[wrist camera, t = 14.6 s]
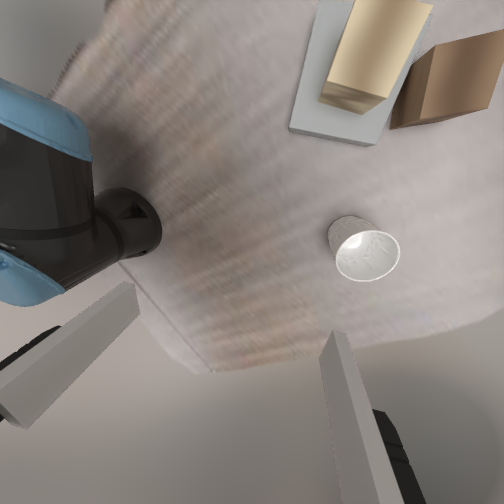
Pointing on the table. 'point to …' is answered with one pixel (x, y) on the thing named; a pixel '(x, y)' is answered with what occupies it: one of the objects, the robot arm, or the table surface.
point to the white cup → (362, 249)
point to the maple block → (372, 52)
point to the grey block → (313, 77)
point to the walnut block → (450, 81)
